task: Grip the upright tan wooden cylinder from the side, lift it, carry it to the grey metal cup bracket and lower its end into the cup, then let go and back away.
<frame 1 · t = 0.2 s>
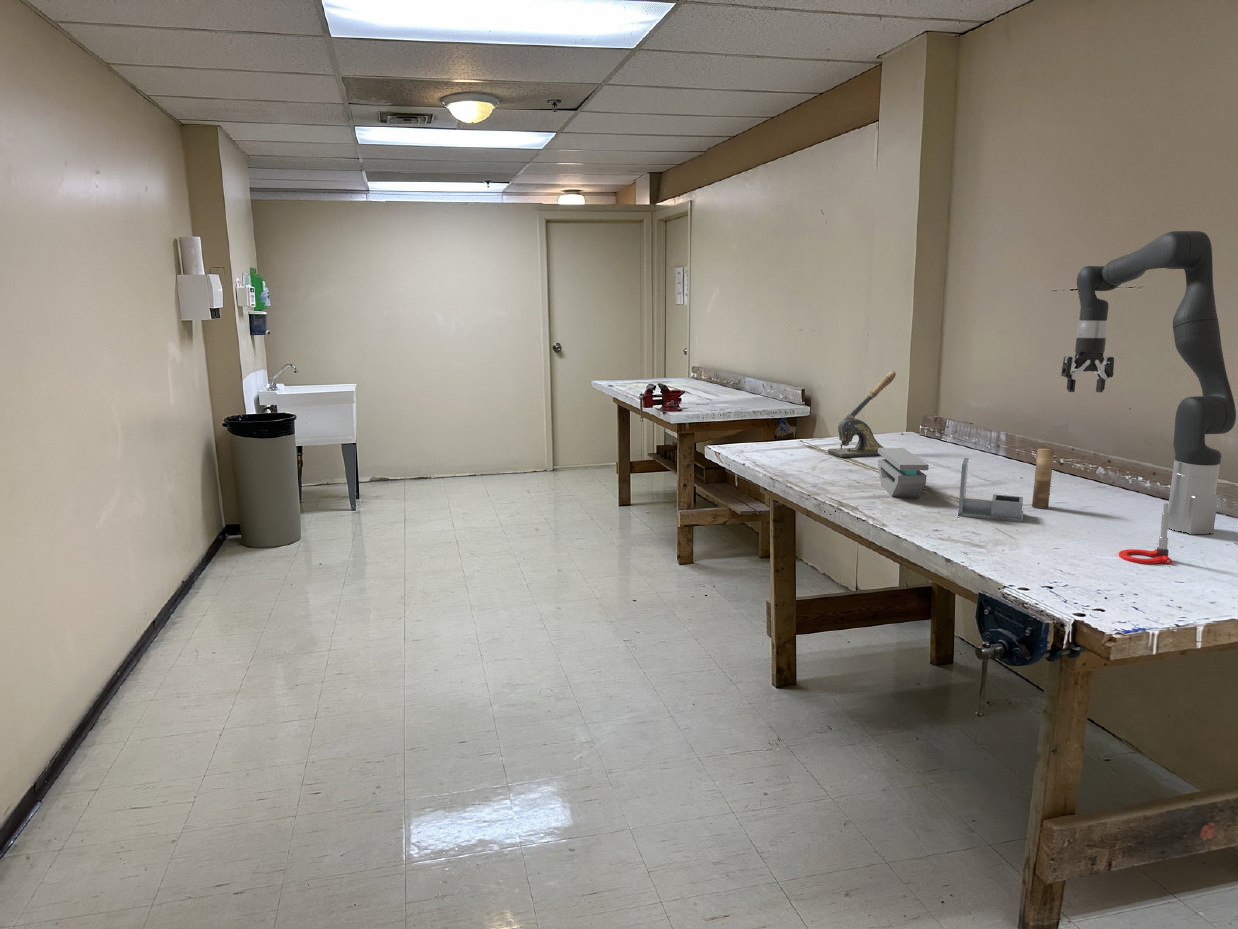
hand: (1085, 392, 243), 29 cm above the table, tool pointing down, fingers open, 8 cm apart
bracket: (1006, 516, 218), on the table
tow hook: (1142, 559, 184), on the table
embossing press: (862, 454, 301), on the table
tan wooden cylinder: (1040, 507, 227), on the table
grey lidded box: (899, 492, 246), on the table
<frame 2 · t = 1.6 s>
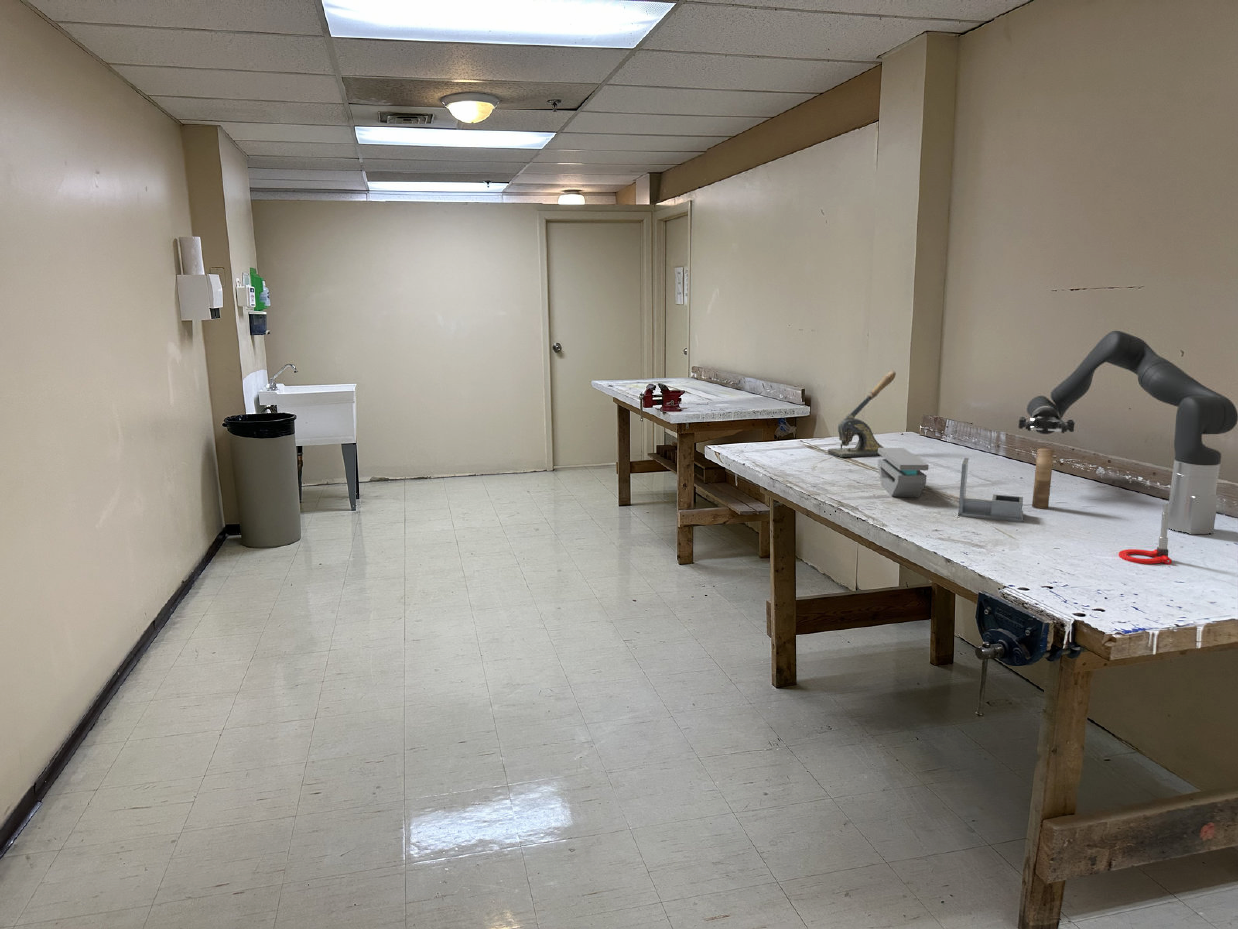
hand: (1046, 428, 233), 20 cm above the table, tool horizontal, fingers open, 8 cm apart
nothing on the table moved.
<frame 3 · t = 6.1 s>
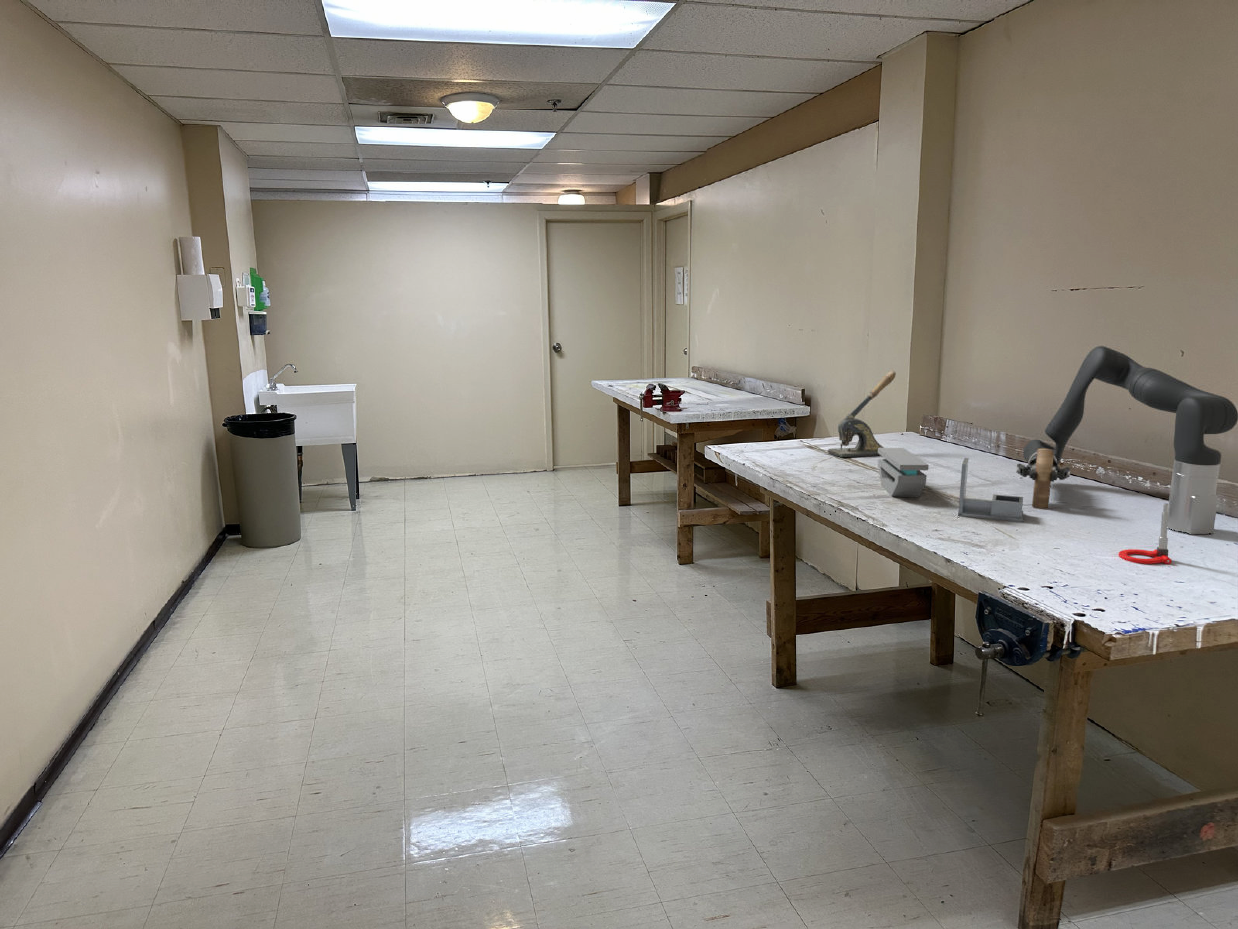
hand: (1043, 477, 223), 9 cm above the table, tool horizontal, fingers closed on tan wooden cylinder, 4 cm apart
tan wooden cylinder: (1040, 507, 227), on the table, touching gripper
everything else where it was.
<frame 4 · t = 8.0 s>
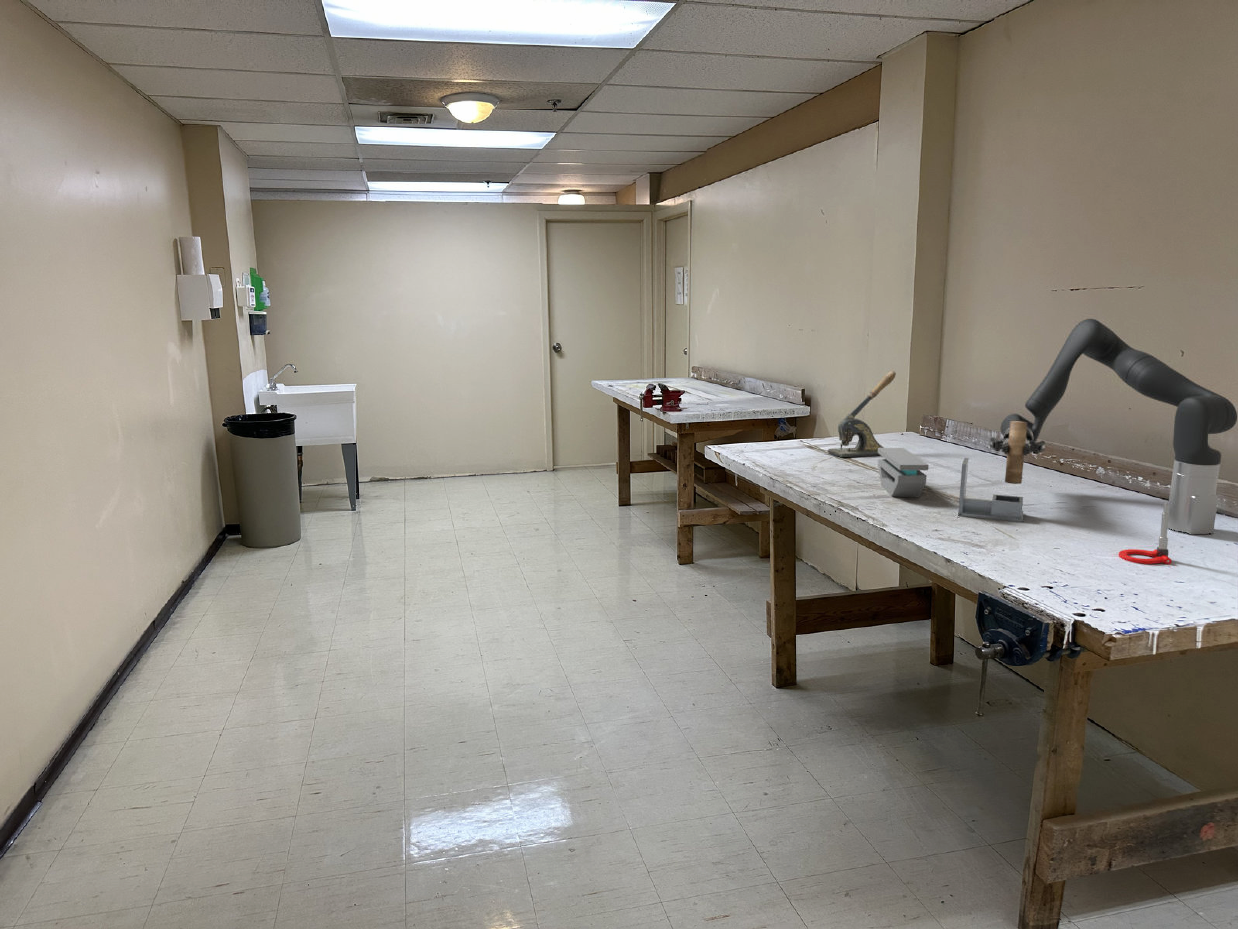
hand: (1015, 450, 214), 18 cm above the table, tool horizontal, fingers closed on tan wooden cylinder, 4 cm apart
tan wooden cylinder: (1013, 482, 218), point 9 cm above the table, touching gripper
everything else where it was.
when the fingers open (11 cm above the table, at t = 10.2 s): tan wooden cylinder drops 1 cm, resting on bracket.
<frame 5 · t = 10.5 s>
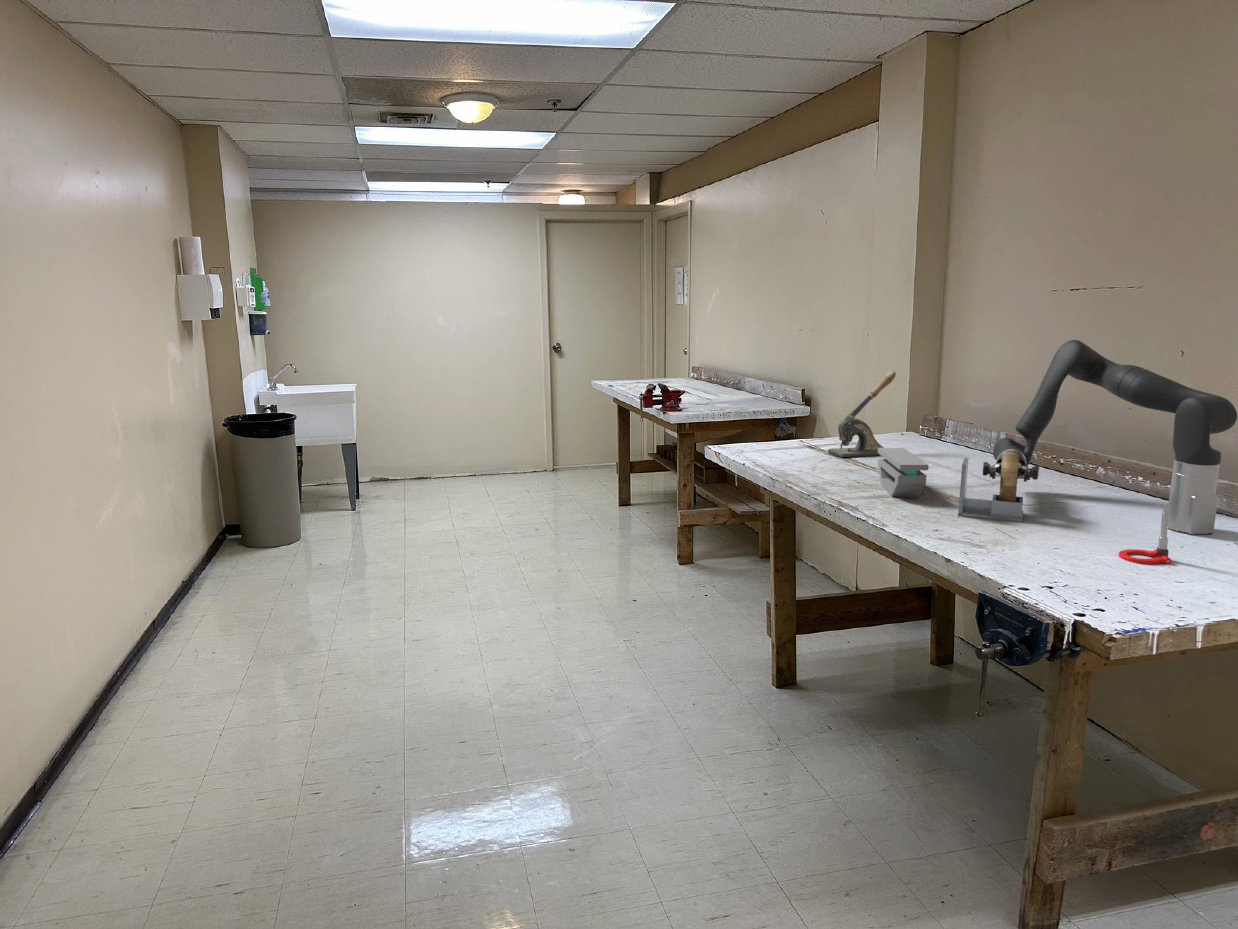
hand: (1009, 476, 214), 11 cm above the table, tool horizontal, fingers open, 7 cm apart
tan wooden cylinder: (1006, 513, 218), point 1 cm above the table, touching bracket
everything else where it was.
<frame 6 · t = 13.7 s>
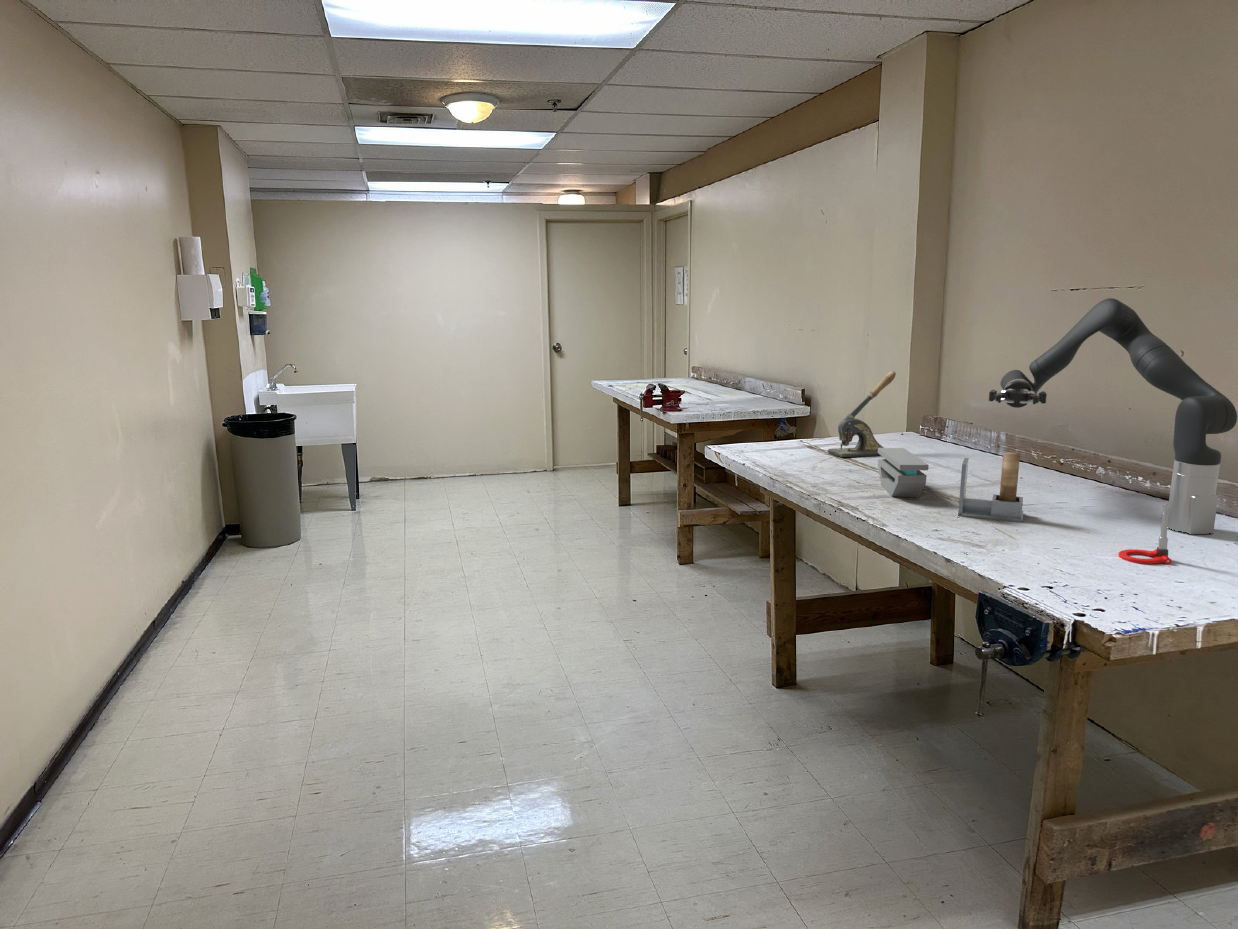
hand: (1017, 399, 222), 30 cm above the table, tool horizontal, fingers open, 8 cm apart
nothing on the table moved.
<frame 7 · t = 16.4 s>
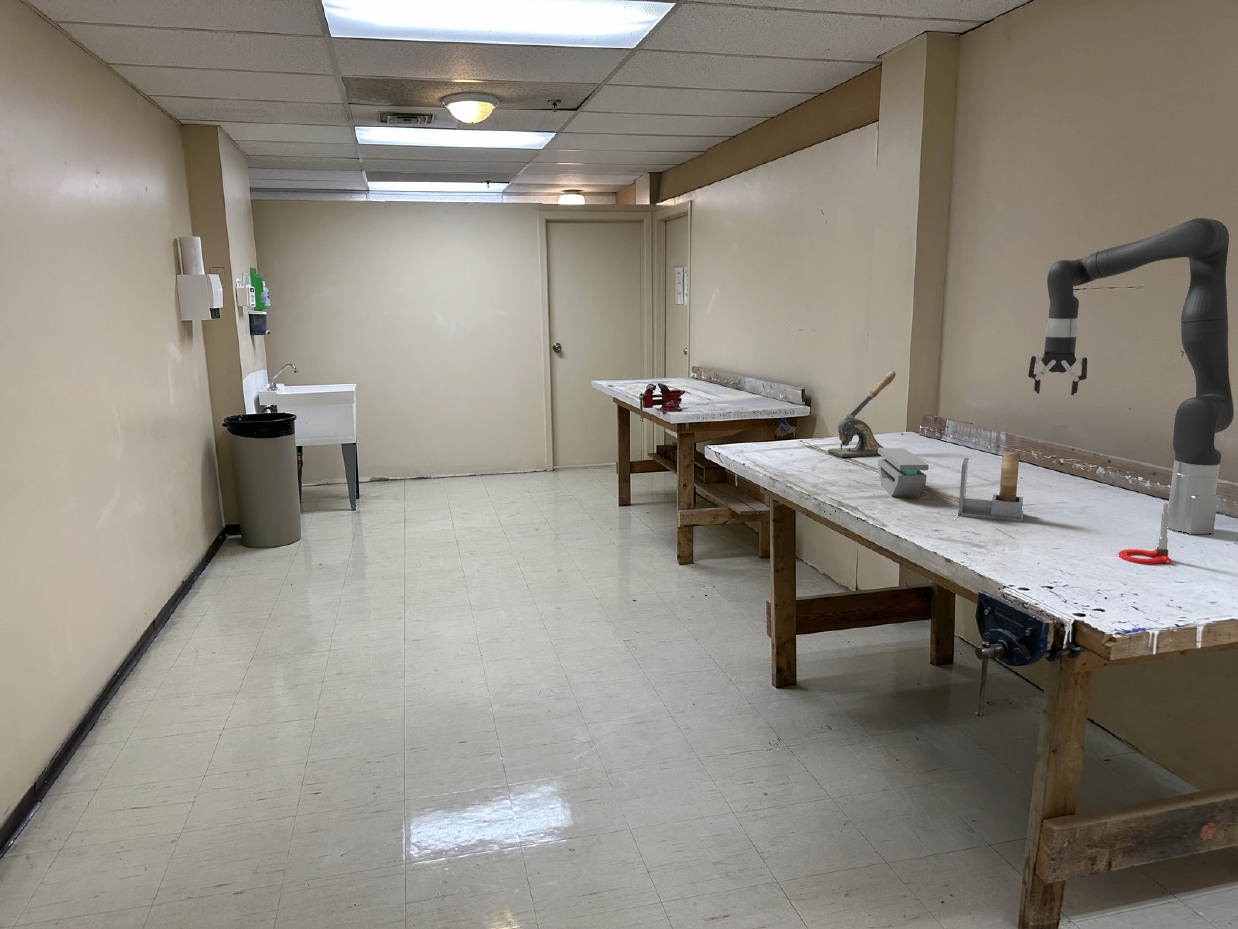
hand: (1055, 394, 229), 30 cm above the table, tool pointing down, fingers open, 8 cm apart
nothing on the table moved.
at the end: tan wooden cylinder 0.1 cm off-centre on the bracket, point 0.9 cm above the bracket's base; tan wooden cylinder tilted 2°; the gripper is holding nothing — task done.
